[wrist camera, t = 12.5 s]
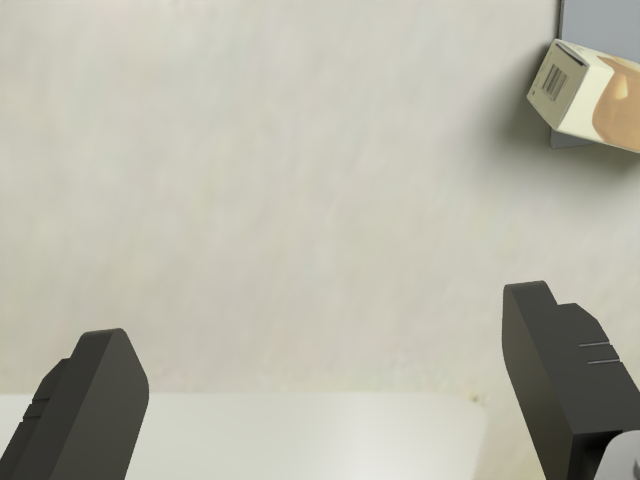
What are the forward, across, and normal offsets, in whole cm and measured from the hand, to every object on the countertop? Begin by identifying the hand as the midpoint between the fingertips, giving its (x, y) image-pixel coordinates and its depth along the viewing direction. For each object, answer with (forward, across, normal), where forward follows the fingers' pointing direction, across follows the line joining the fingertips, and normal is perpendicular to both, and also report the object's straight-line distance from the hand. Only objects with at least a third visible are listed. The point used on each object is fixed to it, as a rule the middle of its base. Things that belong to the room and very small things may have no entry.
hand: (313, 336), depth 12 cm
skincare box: (+26, -14, +6) cm, 30 cm away
